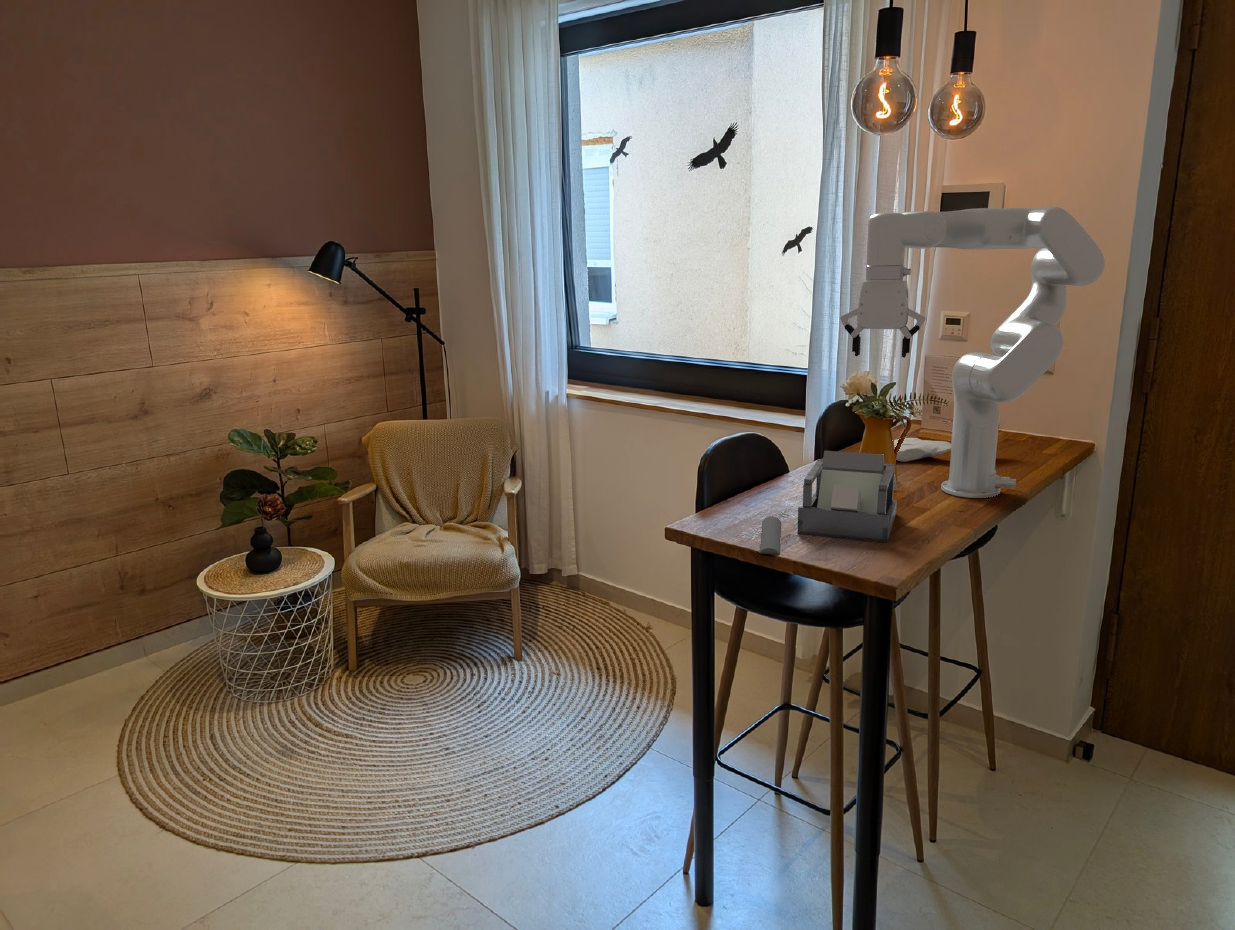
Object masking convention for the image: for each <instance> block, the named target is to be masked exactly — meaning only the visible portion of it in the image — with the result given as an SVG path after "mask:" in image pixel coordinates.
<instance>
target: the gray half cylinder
mask: <svg viewBox="0 0 1235 930" xmlns="http://www.w3.org/2000/svg"><path fill="white" fill-rule="evenodd" d="M761 529H762V531H761V530H760V531H761V532H762V533H761V532H760V538H761V544H760V543H759V548H760V550H759V549H758V554H765V555H767V554H768V555H780V554H781V544H780V538H781V537H782V522H781V520H780V519H779V518H778V517H776V516H772V515H770V516H767V517H765V518H764V519H762V521H761Z"/></svg>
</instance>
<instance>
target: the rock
mask: <svg viewBox="0 0 1235 930" xmlns="http://www.w3.org/2000/svg"><path fill="white" fill-rule="evenodd" d="M904 438H905V439H904V441H903V443H902V444H901V447H900V449H899V451H898V452H897V461H896V462H911V461H918V460H920V459H924V458H932V457H938V456H939V455H943V454H945V453H947V452H949V451H951V444H952V442H949V441H945V440H929V439H925V440H924V439H920V438H919V437H904ZM899 439H900V438H897V439H893V440H894V447H896V446H897V443H898V440H899Z"/></svg>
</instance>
